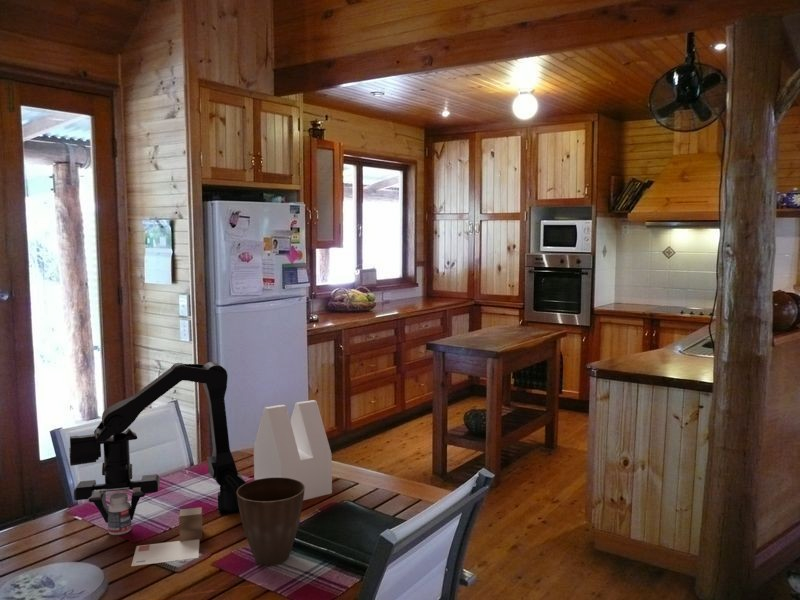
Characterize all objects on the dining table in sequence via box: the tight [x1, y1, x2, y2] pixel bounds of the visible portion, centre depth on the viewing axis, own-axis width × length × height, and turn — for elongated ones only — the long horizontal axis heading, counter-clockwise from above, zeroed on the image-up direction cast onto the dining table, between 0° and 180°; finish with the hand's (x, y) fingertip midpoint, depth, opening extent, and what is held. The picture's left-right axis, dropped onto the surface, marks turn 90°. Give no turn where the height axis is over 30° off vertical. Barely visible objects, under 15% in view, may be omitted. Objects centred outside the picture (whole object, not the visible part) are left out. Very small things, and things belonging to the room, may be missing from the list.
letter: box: [130, 539, 201, 567], centre depth 148 cm, size 14×10×1 cm
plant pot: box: [237, 477, 305, 566], centre depth 145 cm, size 15×15×16 cm
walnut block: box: [178, 507, 203, 542], centre depth 156 cm, size 5×5×6 cm
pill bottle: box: [107, 492, 132, 536], centre depth 159 cm, size 5×5×9 cm
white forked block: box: [253, 399, 333, 501], centre depth 186 cm, size 19×15×25 cm
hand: (119, 520), depth 159 cm, fingers closed on pill bottle, 5 cm apart
